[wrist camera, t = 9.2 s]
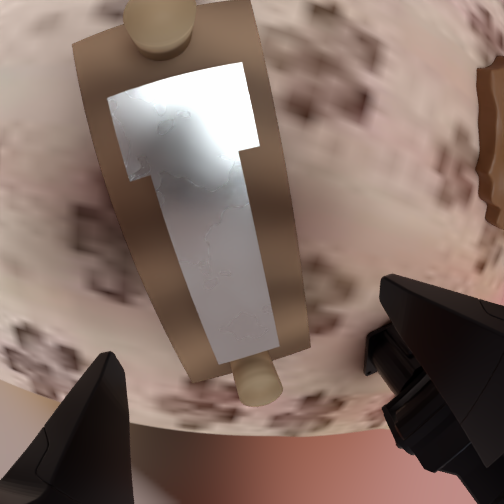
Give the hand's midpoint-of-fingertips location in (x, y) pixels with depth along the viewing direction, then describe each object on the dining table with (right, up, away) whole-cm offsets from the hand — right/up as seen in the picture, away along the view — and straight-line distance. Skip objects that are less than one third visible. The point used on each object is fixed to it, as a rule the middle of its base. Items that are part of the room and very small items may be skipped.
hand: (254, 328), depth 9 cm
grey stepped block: (-2, +4, +8) cm, 9 cm away
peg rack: (-3, +5, +10) cm, 11 cm away
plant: (+30, +16, +14) cm, 37 cm away
